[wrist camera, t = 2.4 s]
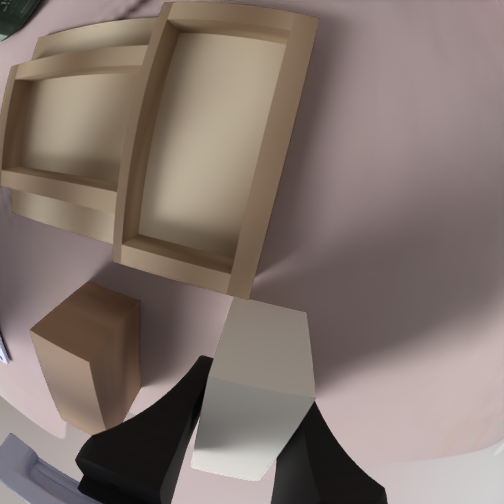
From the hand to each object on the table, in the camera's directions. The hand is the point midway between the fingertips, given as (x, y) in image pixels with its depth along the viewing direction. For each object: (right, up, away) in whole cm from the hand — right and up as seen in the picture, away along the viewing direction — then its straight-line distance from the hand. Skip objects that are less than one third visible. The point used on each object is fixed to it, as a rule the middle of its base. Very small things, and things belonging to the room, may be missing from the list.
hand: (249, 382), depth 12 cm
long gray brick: (0, +1, +1) cm, 2 cm away
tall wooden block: (-7, +1, +2) cm, 8 cm away
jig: (-5, +11, -2) cm, 12 cm away
